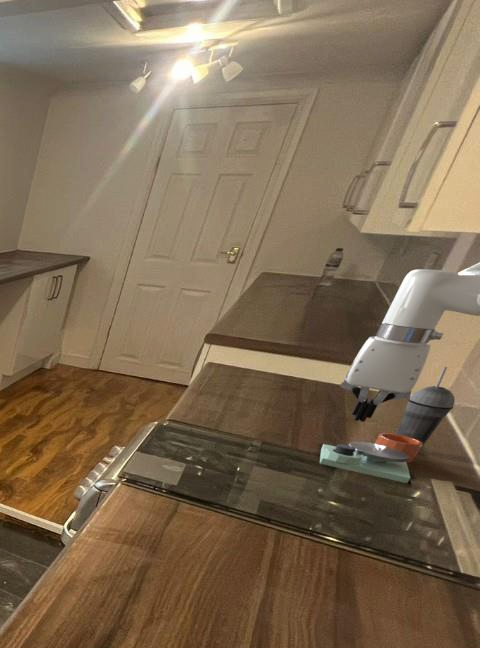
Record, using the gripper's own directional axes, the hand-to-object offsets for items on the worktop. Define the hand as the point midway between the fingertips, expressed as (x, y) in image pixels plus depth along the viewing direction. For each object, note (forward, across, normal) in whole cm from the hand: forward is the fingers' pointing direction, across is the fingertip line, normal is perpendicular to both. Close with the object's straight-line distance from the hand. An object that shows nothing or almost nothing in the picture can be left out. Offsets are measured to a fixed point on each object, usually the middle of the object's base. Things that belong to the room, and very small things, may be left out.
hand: (359, 419), depth 125 cm
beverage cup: (+11, -12, -25) cm, 30 cm away
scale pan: (+11, -6, -5) cm, 13 cm away
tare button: (+8, 0, 0) cm, 8 cm away
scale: (+11, -4, -4) cm, 12 cm away
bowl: (+11, -9, -14) cm, 20 cm away
